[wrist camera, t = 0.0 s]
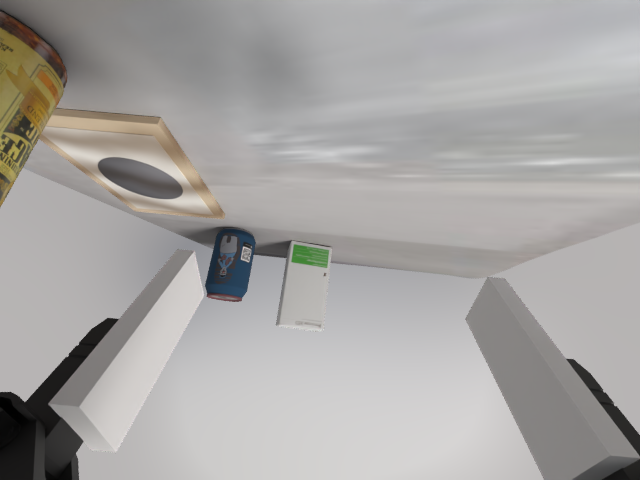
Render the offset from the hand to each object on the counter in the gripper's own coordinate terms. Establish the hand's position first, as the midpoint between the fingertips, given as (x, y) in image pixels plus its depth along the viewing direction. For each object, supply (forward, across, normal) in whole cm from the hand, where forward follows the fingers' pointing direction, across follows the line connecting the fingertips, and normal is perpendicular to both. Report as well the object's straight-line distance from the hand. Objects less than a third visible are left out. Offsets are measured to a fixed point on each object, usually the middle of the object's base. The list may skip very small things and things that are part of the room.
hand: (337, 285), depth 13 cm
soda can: (+33, -16, -19) cm, 42 cm away
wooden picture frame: (+22, -23, -5) cm, 33 cm away
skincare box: (+36, -3, -23) cm, 43 cm away
